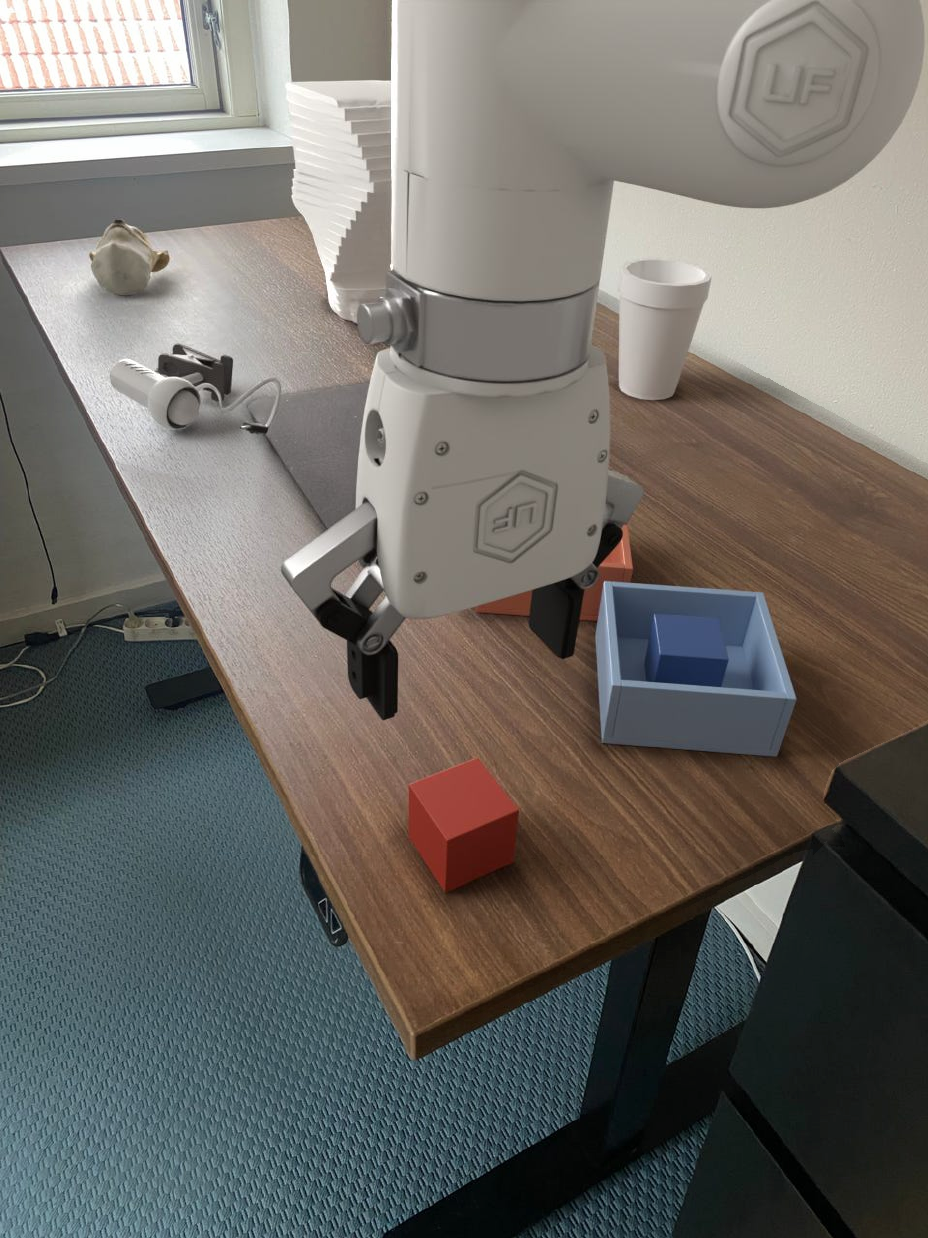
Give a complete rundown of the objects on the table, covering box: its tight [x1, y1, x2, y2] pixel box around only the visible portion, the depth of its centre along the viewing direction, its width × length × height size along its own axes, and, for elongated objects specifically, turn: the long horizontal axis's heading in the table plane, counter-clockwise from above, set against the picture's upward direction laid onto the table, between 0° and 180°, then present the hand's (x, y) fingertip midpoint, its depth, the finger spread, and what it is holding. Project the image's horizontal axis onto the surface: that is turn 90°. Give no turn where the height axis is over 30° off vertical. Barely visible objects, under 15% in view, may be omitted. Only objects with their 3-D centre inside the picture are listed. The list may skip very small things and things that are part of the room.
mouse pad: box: [248, 381, 370, 530], centre depth 91 cm, size 32×27×1 cm
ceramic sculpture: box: [88, 218, 171, 296], centre depth 125 cm, size 11×9×15 cm
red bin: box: [475, 524, 634, 622], centre depth 73 cm, size 11×11×5 cm
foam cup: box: [617, 257, 713, 401], centre depth 101 cm, size 10×9×13 cm
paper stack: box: [284, 79, 392, 324], centre depth 115 cm, size 21×27×26 cm
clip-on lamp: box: [109, 342, 282, 435], centre depth 93 cm, size 12×6×18 cm
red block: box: [408, 757, 520, 893], centre depth 51 cm, size 4×4×4 cm
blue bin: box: [594, 581, 797, 758], centre depth 62 cm, size 11×11×5 cm
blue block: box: [644, 614, 729, 687], centre depth 62 cm, size 4×4×4 cm
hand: (466, 670), depth 45 cm, fingers open, 9 cm apart
